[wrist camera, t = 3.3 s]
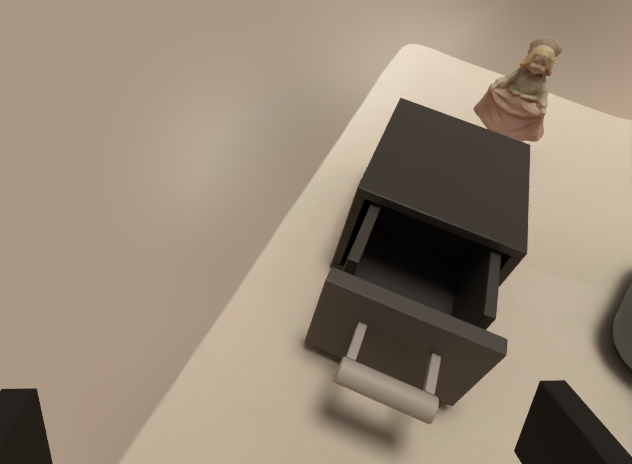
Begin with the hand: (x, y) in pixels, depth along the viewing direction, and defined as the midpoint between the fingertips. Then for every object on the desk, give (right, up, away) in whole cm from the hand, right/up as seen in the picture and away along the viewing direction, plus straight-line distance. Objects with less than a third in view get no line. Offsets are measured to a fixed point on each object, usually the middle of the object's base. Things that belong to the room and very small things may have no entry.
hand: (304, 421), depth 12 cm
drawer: (+6, -2, +23) cm, 24 cm away
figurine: (+22, +16, +45) cm, 53 cm away
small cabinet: (+10, +4, +31) cm, 33 cm away
